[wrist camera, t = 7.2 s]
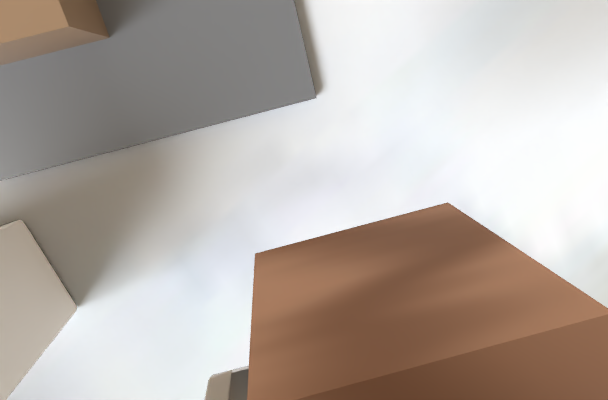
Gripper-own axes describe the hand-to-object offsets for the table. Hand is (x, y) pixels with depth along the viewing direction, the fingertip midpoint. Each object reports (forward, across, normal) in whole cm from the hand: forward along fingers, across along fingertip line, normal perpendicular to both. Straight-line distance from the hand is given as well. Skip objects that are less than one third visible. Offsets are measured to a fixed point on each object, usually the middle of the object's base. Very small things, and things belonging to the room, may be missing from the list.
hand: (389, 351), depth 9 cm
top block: (+2, 0, 0) cm, 2 cm away
